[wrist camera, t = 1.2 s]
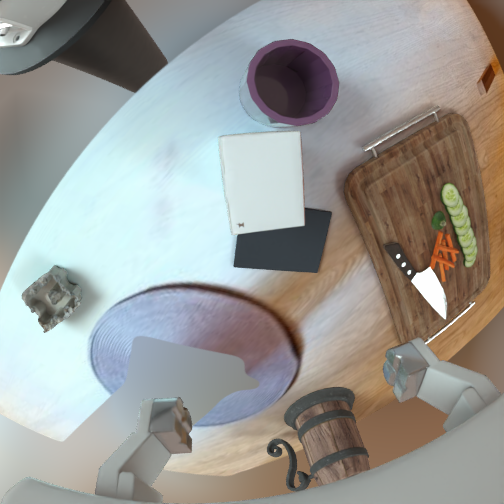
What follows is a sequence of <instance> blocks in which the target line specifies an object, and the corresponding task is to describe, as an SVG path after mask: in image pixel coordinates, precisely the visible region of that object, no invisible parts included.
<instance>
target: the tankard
mask: <svg viewBox="0 0 504 504" xmlns="http://www.w3.org/2000/svg"><path fill="white" fill-rule="evenodd" d="M354 399H355V396H354V393H353V392H352V391H351V390H349V389H346V388H341V387H333V388H327V389H323V390H319V391H316V392H313V393H310V394H308V395H306V396H304V397H302V398H301V399H299V400H297V401H296V402H295V403H294V404H292V405H291V406H290V407H289V408H288V410H287V411H286V413H285V416H284V421H285V422H286V424H287V425H289V426H290V427H292V428H293V429H295V430H297V431H298V438H299V440H300V442H301V443H302V445H303V448H304V450H305V454H306V457H307V459H308V462H309V465H310V472H311V475H309V476H308V475H307V474H306V473H304V472H301V471H298V472H297V474H298V475H299V481H300V482H301V484H300V486H299V487H297V488H295V486H294V477H295V473H296V470H297V459H296V455H295V452H294V450H293V448H292V447H291V445H290V444H289V443H288V442H286V441H284V440H282V439H274V440H272V441H271V442H270V443H269V444H268V447H267V452H268V454H269V455H271V456H273V457H279V456H281V454H282V449H281V448H280V447H278V446H277V445H278V444H283V445H284V446H285V448H286V450H287V452H288V455H289V459H290V465H289V470H288V474H287V478H286V485H287V487H288V489H290V490H291V491H295V492H297V491H302V490H305V489H306V488H307V487H308V485H309V483H310V481H311V480H310V479H312V478H315V480H316V482H317V484H318V485H319V486H322V485H325V484H329V483H332V482H336V481H339V480H342V479H345V478H348V477H351V476H354V475H357V474H360V473H362V472H365V471H368V470H370V467H369V462H368V457H369V455H368V452H367V450H366V448H364V445H363V442H362V439H361V437H360V434H359V431H358V429H357V426H356V420H355V417H354V414H353V413H352V412H351V409H352V406H353V403H354ZM274 449H277V450H276V452H274Z"/></svg>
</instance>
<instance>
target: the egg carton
mask: <svg viewBox="0 0 504 504" xmlns="http://www.w3.org/2000/svg"><path fill="white" fill-rule="evenodd" d="M80 292H81V288H80V287H79V286H78V285H72V284H70V283H69V281H68V280H67V272H66V270H65V269H64V268H62V269H61V268H58V267H56V266H53V267H52V268H51V269H50V271H49V272H48V273H46V274H44V275H42V276H41V277H40V278H39V279H38V280H37V281H36V282H34V283H33V284H32V285H31V286H29V287H28V288H27V289H26V290H25V291H24V292H23V294H22V299H23V300H24V302H25V304H26V306H29V308H30V309H31V312H32V313H34V312H35V313H36V314H37V315H38V316H39V318H38V322H39V324H40V325H41V326H42V327H43V329H44V333H45V332H47V331H49V330H50V329H52V328H53V327H55V326H56V325H57V324H58V323H60V322H62V321H63V320H64V319H66V318H67V317H69V316H70V315H71V314H72V313H73V312H74V311H75V310H76V308H77V307H78V306H79V305H80V304H81V303H79V301H80V300H81V299H82V297H81V293H80Z"/></svg>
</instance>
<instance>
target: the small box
mask: <svg viewBox="0 0 504 504" xmlns="http://www.w3.org/2000/svg"><path fill="white" fill-rule="evenodd" d="M218 145H219V155H220V165H221V174H222V182H223V189H224V196H225V201H226V206H227V212H228V218H229V224H230V230H231V234H232V235H237V234H244V233H251V232H258V231H266V230H274V229H281V228H290V227H298V226H304V225H305V204H304V179H303V161H302V145H301V132H300V131H271V132H255V133H243V134H232V135H223V136H219V137H218Z"/></svg>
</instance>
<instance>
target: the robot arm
mask: <svg viewBox="0 0 504 504" xmlns="http://www.w3.org/2000/svg"><path fill="white" fill-rule="evenodd" d="M66 1H67V0H0V48H8V47H18V46H24V45H26V44H27V43H28V42H29V40H30V39H31V38H32V36H33V35H34V34H35V32H36V31H37V29H38V28H39V27H40V26H41V25H42V24H44V23H45V22H46V21H47V20H48V19H50V18H51V17H52V16H53V15H54V14H55V13H56V12H57V11H58V10H59V9H60V8H61V7H62V6H63V4H64V3H65V2H66ZM19 37H20V38H19ZM18 39H19V40H18ZM386 358H387V360H386V362H385V363H384V366H383V373H384V377H385V379H386V381H387V383H388V384H389V385H391V386H394V388H393V393H394V395H395V396H396V398H397V400H398V401H399V403H400V402H403V401H406V400H408V399H410V398H413V397H415V396H417V397H418V398H420V399H422V400H423V401H425V402H427V403H429V404H430V405H432V406H434V407H436V408H437V409H439V410H441V411H443V412H445V413H446V414H448V415H449V416H448V418H447V419H446V421H445V422H444V425H443V427H444V429H445V431H446V433H445V434H444V435H442V436H440V437H438V438H437V439H435V440H433V441H431V442H429V443H427V444H426V445H424V446H422V447H420V448H418V449H416V450H414V451H412V452H410V453H408V454H406V455H403V456H401V457H399V458H397V459H395V460H392V461H390V462H388V463H385V464H383V465H381V466H378V467H376V468H373V469H370V470H368V471H365V472H362V473H360V474H357V475H354V476H351V477H348V478H345V479H342V480H339V481H336V482H332V483H329V484H325V485H322V486H318V487H314V488H310V489H306V490H302V491H297V492H293V493H288V494H283V495H277V496H272V497H266V498H259V499H252V500H243V501H234V502H222V503H198V504H504V393H503V394H502V395H501V394H500V392H499V391H498V390H497V388H496V387H495V386H494V385H493V383H492V382H491V381H490V380H489V379H488V378H487V376H486V375H483V374H480V373H477V372H474V371H472V370H469V369H466V368H463V367H461V366H458V365H455V364H452V363H450V362H447V361H444V360H442V361H440V360H439V359H438V358H437V356H436V355H435V354H434V353H433V352H432V350H431V349H430V348H429V347H428V346H427V345H426V343H425V342H424V341H423V340H422V339H421V338H419V337H418V338H416V339H413V340H411V341H408V342H405V343H403V344H400V345H398V346H395V347H393V348H390V349H388V350H387V351H386ZM191 430H192V421H191V416H190V413H189V411H188V409H187V408H185V407H183V401H182V399H181V398H180V397H178V398H161V399H143V401H142V402H141V406H140V411H139V417H138V423H137V429H136V432H134V433H132V434H131V435H130V436H129V437H128V439H126V440H125V441H124V442H123V443H122V445H121V446H120V447H119V448H118V449H117V450H116V451H115V452H114V453H113V454H112V455H111V456H110V457H109V458H108V460H107V461H106V462H105V463H104V464H103V465H102V466H101V467H100V468H99V473H98V478H97V483H96V489H95V495H94V494H89V493H84V492H80V491H75V490H72V489H68V488H64V487H60V486H57V485H53V484H50V483H47V482H44V481H41V480H38V479H35V478H31V477H26V478H24V479H22V480H21V481H19V482H18V483H17V484H16V485H14V486H13V487H12V488H11V489H9V490H8V491H7V492H6V494H5V495H4V497H3V499H2V502H1V504H177V503H162V494H161V493H160V492H158V491H157V490H155V489H154V488H152V487H151V486H152V484H153V483H154V481H155V480H156V478H157V477H158V475H159V474H160V472H161V471H162V469H163V468H164V466H165V465H166V463H167V462H168V460H169V459H170V457H171V454H179V453H192V438H191V437H190V436H189V433H190V432H191Z"/></svg>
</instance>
